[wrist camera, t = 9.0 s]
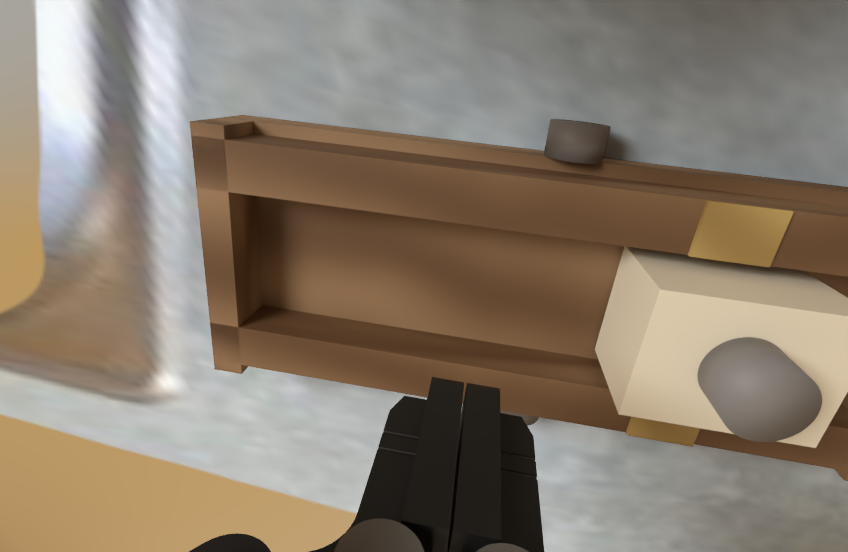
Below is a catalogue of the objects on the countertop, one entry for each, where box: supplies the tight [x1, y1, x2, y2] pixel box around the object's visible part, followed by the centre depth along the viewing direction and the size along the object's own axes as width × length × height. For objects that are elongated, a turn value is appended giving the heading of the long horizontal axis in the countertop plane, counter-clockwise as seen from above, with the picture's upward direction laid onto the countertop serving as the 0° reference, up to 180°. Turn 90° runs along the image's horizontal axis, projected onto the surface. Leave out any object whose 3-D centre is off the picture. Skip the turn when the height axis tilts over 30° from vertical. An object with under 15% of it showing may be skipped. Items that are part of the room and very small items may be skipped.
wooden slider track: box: [190, 115, 848, 481], centre depth 18 cm, size 12×26×4 cm, turn 85°
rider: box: [595, 246, 848, 448], centre depth 15 cm, size 4×6×6 cm
